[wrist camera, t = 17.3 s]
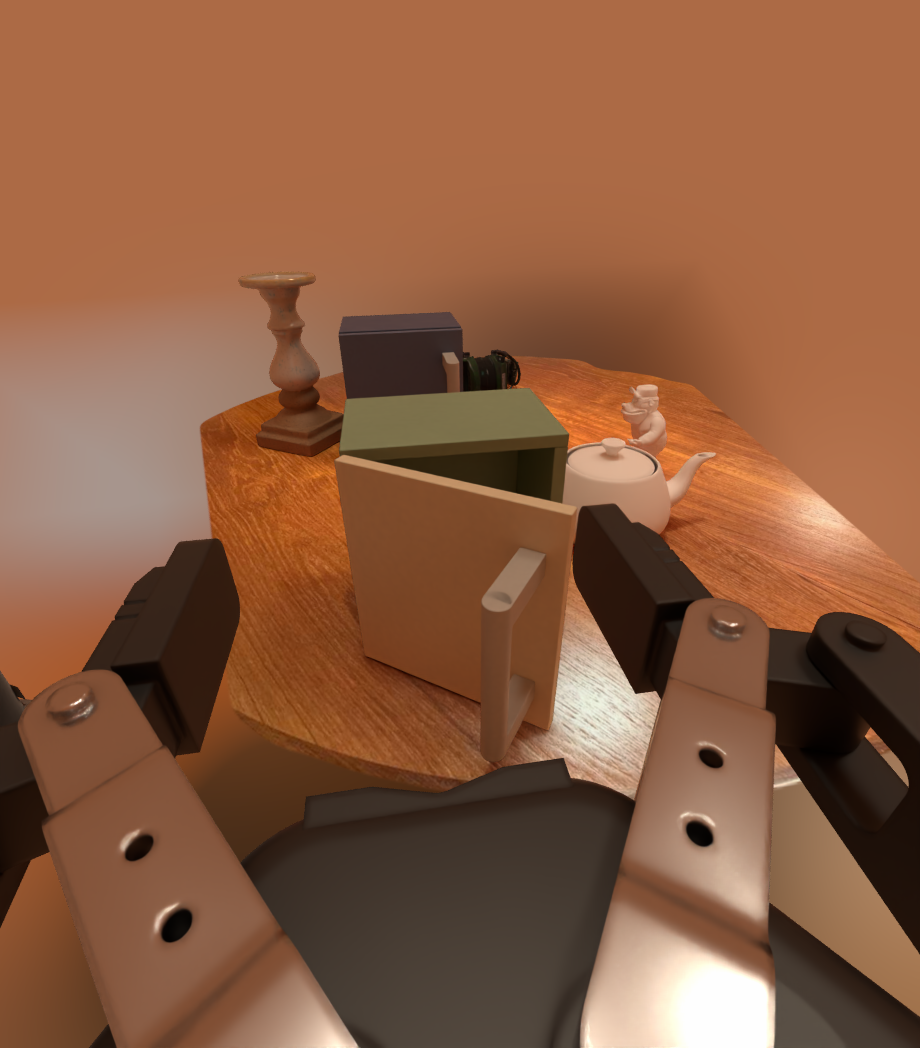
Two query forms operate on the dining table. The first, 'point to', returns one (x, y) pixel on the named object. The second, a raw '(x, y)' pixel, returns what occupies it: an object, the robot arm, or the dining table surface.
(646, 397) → the figurine
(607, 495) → the teapot
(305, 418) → the candle holder
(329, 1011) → the robot arm
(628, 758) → the dining table surface
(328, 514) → the dining table surface
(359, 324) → the dark purple boxy piece
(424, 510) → the peach cabinet door
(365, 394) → the dark cabinet door
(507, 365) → the headphones
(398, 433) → the green-topped cabinet
